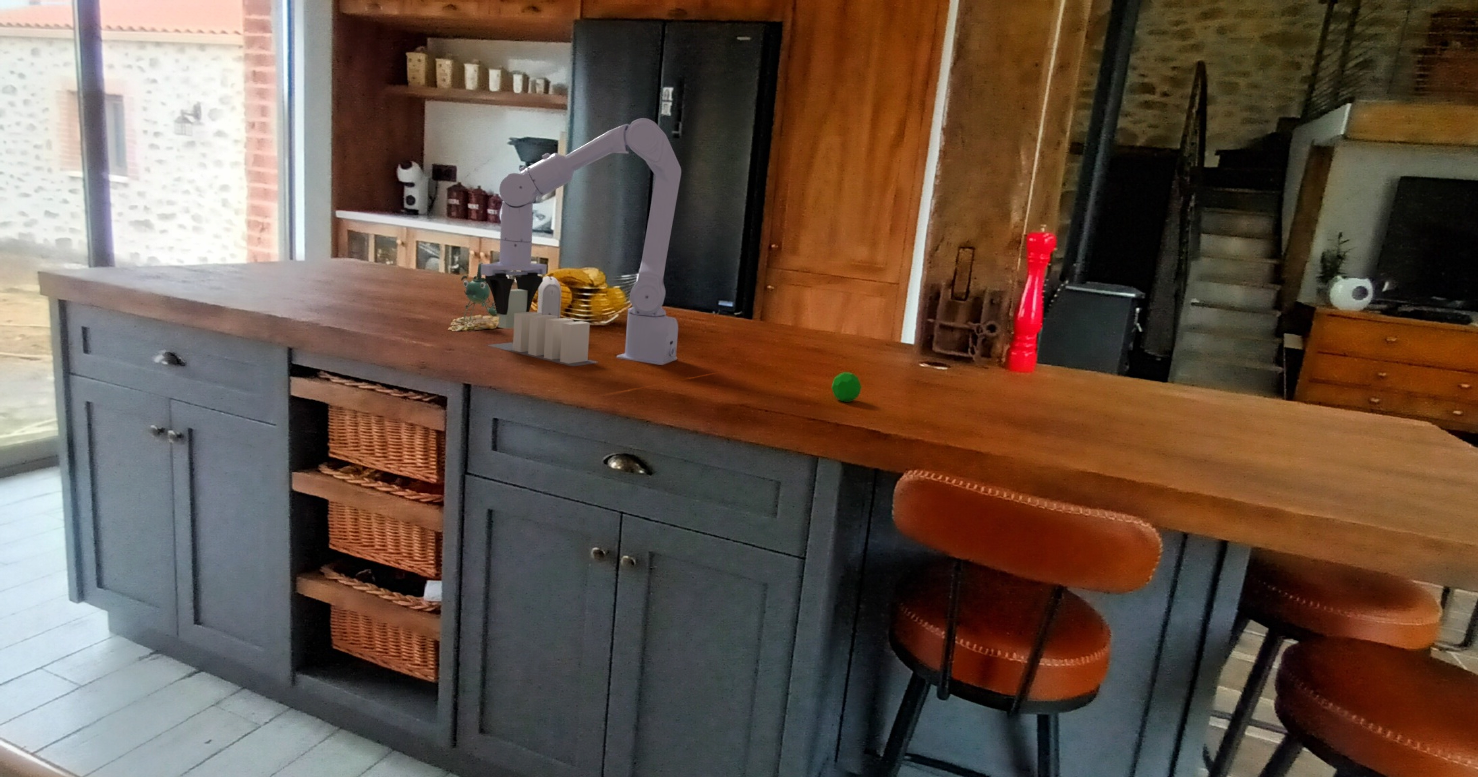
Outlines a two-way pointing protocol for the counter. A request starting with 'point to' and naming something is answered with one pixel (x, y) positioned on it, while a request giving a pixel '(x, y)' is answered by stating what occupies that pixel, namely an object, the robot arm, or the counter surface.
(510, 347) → the domino mat
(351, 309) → the counter surface
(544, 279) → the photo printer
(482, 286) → the teal and tan figure
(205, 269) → the counter surface
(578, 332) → the domino
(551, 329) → the domino
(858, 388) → the polyhedron
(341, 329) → the counter surface
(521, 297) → the pale green rectangular block
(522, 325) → the domino
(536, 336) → the domino
